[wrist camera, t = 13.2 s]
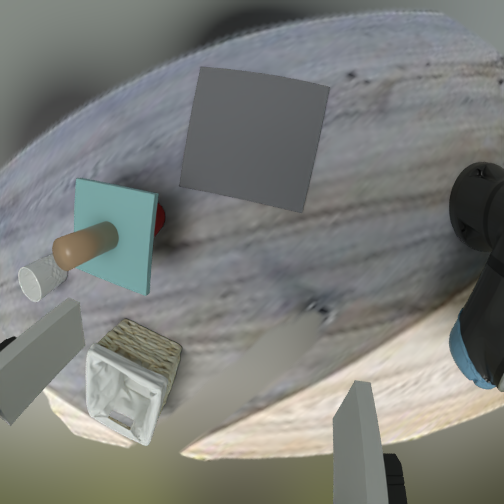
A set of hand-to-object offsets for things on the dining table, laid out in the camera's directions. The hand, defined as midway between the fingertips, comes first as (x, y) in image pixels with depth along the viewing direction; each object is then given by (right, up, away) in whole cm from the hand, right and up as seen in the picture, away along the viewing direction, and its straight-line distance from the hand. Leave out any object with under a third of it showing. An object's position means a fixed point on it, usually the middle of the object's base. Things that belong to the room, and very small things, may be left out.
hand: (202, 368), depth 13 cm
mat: (+2, +23, +31) cm, 39 cm away
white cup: (-42, +2, +46) cm, 63 cm away
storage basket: (-22, -20, +51) cm, 59 cm away
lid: (-17, +8, +27) cm, 33 cm away
